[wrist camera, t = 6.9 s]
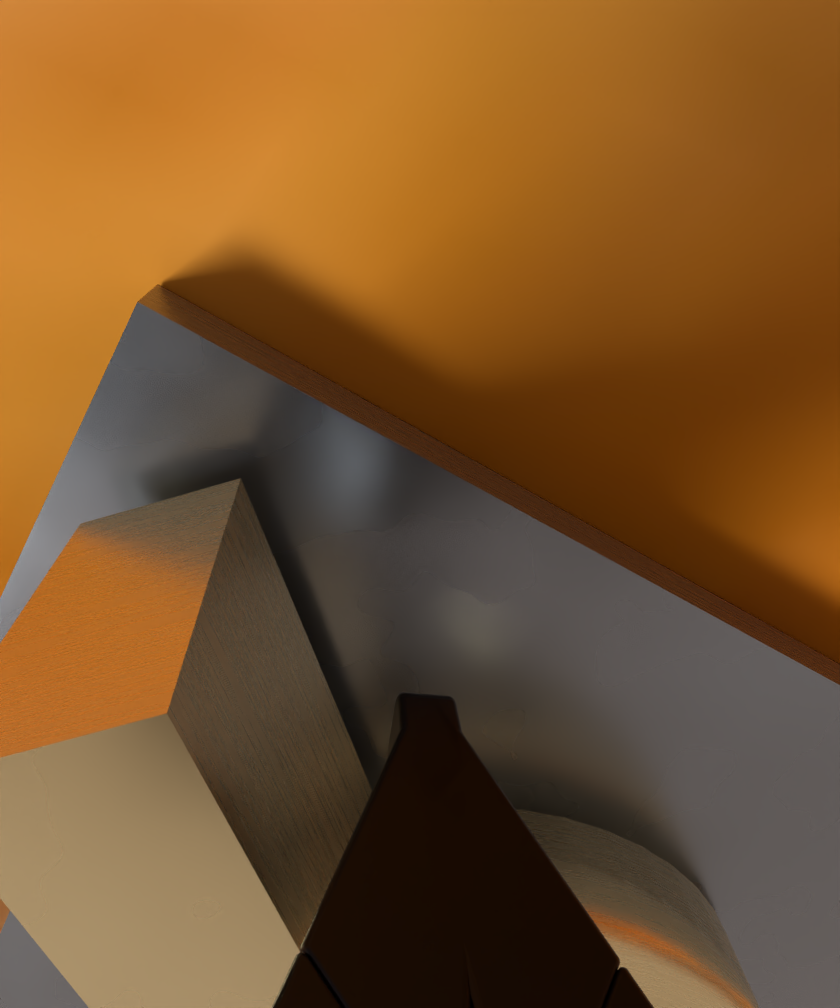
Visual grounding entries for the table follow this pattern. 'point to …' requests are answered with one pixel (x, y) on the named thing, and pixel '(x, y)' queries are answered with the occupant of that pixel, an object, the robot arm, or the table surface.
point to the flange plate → (483, 634)
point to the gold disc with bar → (230, 781)
